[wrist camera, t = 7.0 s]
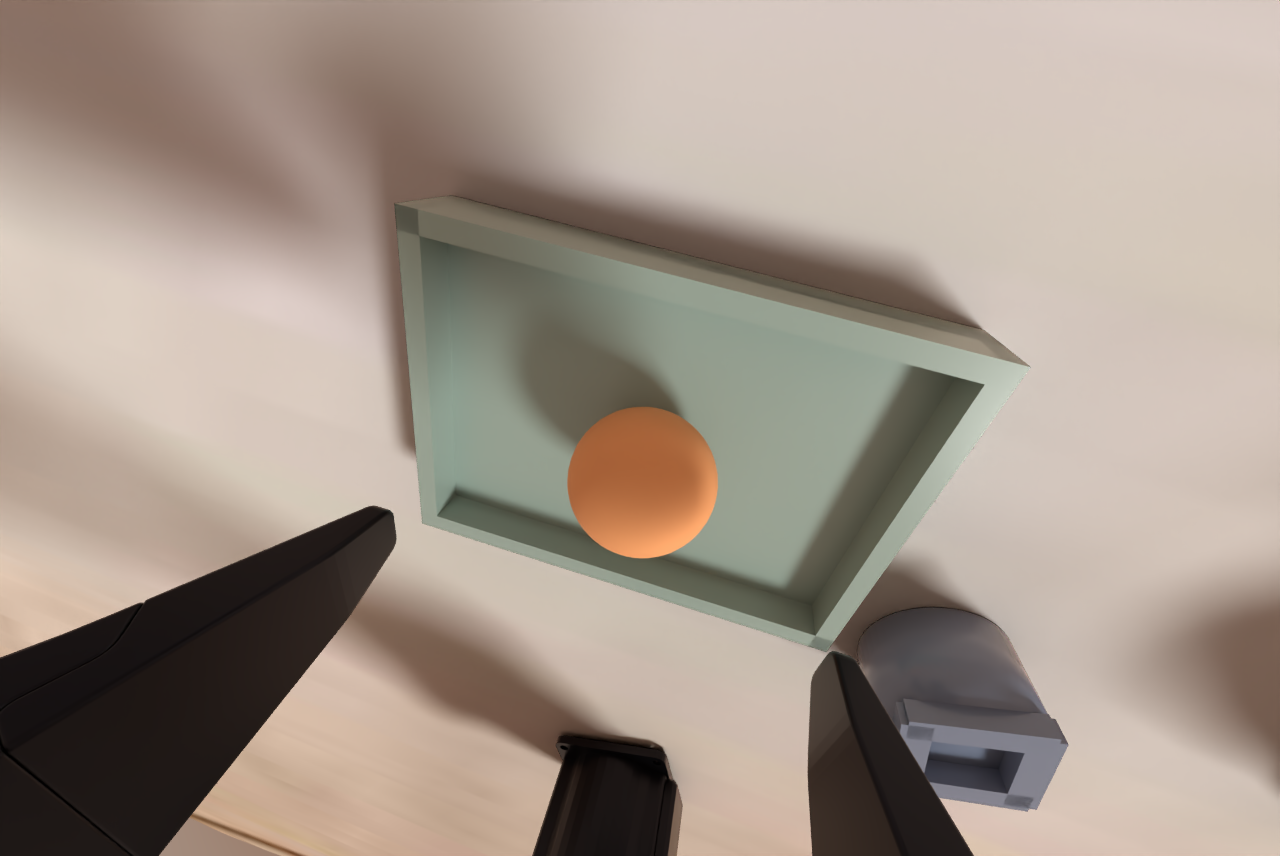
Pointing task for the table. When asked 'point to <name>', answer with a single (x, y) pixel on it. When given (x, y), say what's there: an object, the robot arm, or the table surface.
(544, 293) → the tray
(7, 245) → the table surface
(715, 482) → the ball
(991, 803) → the cylinder with square socket
